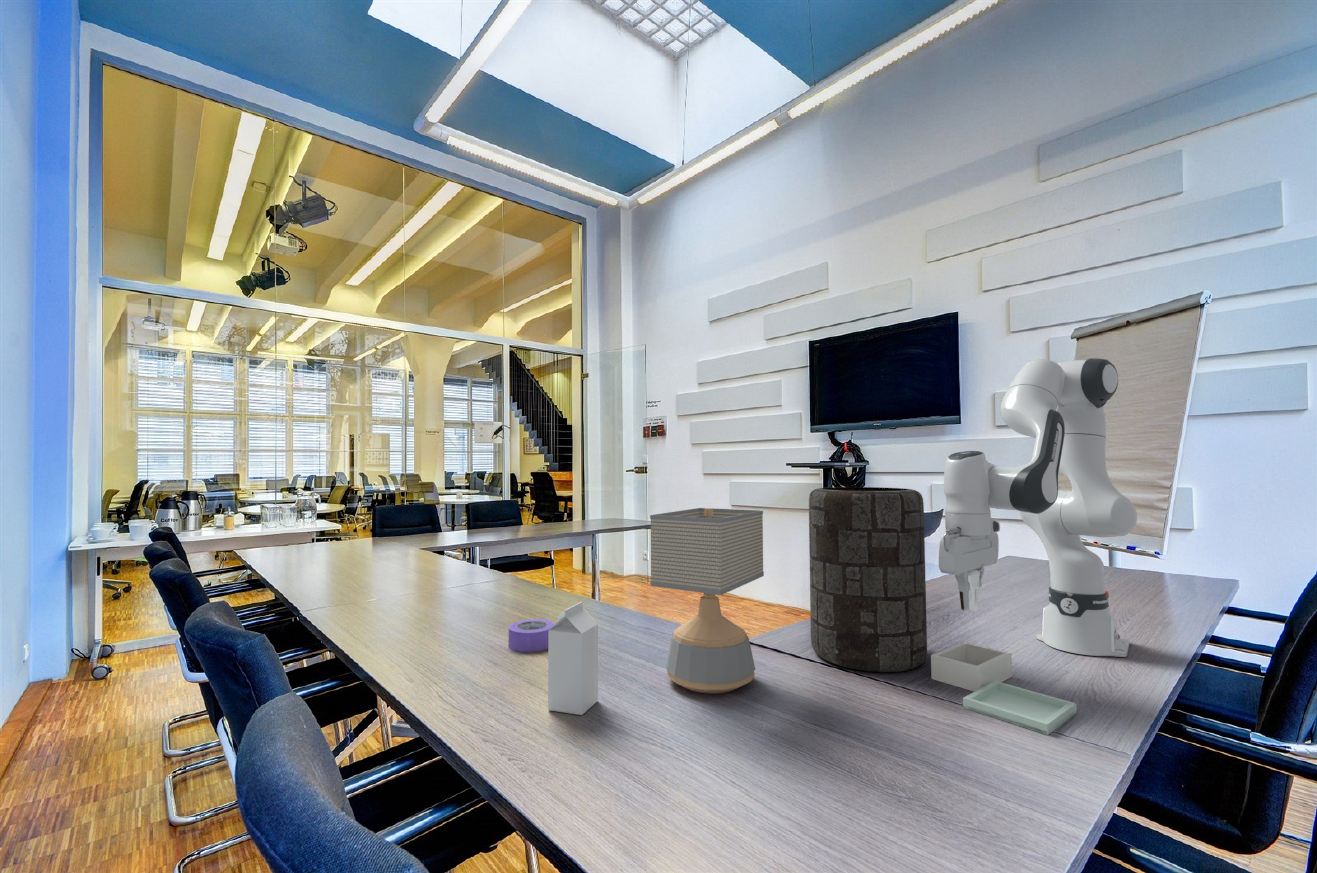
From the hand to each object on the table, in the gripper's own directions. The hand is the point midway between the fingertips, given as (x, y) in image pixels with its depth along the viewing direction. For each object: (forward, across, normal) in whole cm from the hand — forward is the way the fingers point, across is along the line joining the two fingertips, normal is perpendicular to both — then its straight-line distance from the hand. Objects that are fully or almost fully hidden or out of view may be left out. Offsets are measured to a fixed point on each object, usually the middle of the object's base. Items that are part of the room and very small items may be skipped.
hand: (970, 589), depth 125 cm
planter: (+19, -6, +22) cm, 30 cm away
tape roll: (+18, -66, +80) cm, 105 cm away
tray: (+19, -10, -13) cm, 25 cm away
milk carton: (+18, -76, +40) cm, 87 cm away
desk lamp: (+18, -47, +33) cm, 60 cm away
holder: (+19, -1, 0) cm, 19 cm away
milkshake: (+5, 0, 0) cm, 5 cm away
